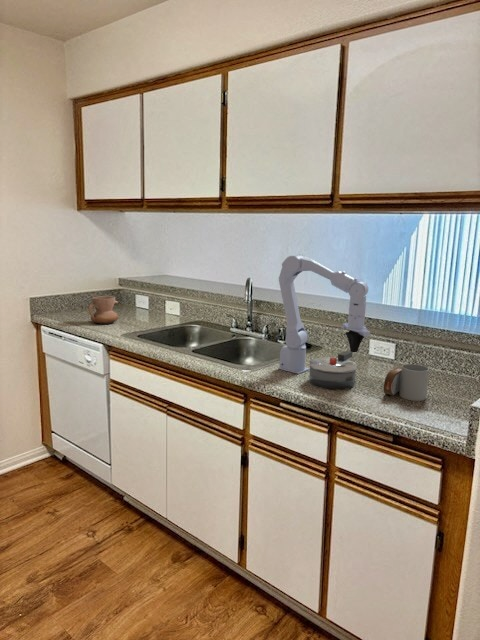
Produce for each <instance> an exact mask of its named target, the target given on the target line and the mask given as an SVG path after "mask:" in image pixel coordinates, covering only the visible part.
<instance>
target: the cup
mask: <svg viewBox="0 0 480 640" xmlns="http://www.w3.org/2000/svg"><path fill="white" fill-rule="evenodd" d="M401 367H402V372H401V383H400V392H399V397H400V398H402V399H405V400H409V401H412V402H413V401H415V402H422V401H425V400H426V399H427V394H428V393H427V392H428V382H429V375H430V374H429V373H430V368H429V367H428V366H425V365H421V364H418V363H417V364H415V363H405V364H403V365H402V366H401Z"/></svg>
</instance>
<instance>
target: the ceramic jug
mask: <svg viewBox="0 0 480 640" xmlns="http://www.w3.org/2000/svg"><path fill="white" fill-rule="evenodd" d="M91 302H92V304H90V305H89V306H88V312H89V315H90V320H91V322H93V323H95V324H99V325H100V324H101V325H109V324H113V323H115V322H117V321H118V319H119V315H118V313H117V312H115V311H113V308H114V307H115V304H118V303H119V301H117V300H116V296H113V295H99V296H94V297H91ZM93 308H94V309H95V310H96V311H94V313H93Z"/></svg>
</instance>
